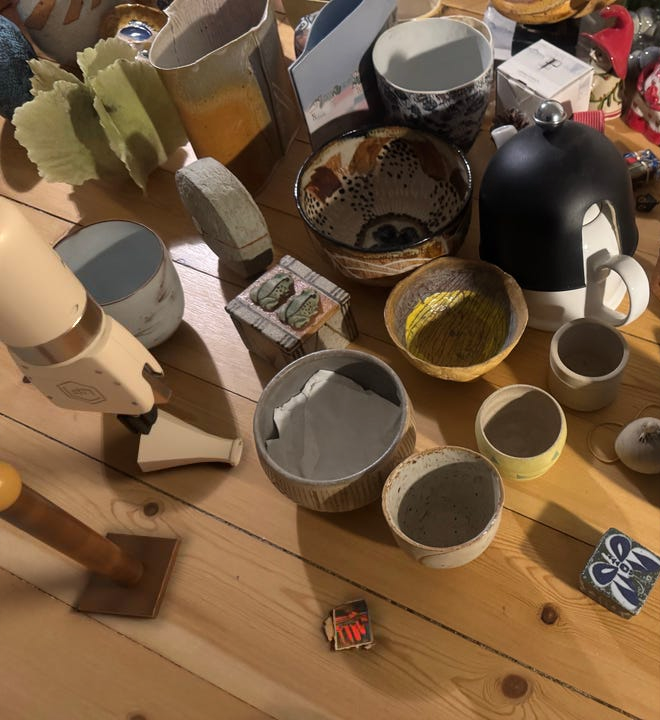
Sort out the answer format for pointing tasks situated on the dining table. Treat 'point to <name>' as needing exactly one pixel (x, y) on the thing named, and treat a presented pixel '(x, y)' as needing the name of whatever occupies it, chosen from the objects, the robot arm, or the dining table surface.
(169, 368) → the dining table surface
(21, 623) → the dining table surface
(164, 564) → the post
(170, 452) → the flask
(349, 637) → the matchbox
